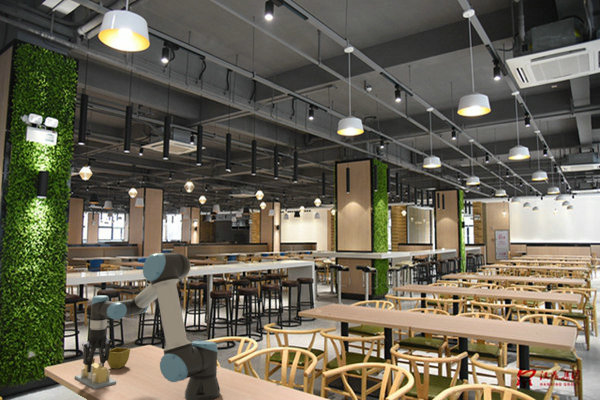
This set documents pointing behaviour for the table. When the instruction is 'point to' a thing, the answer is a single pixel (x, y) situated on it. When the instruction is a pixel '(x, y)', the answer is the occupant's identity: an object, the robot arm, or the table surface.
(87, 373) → the pale yellow block
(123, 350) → the flower pot
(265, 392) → the table surface
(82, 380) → the peg board
